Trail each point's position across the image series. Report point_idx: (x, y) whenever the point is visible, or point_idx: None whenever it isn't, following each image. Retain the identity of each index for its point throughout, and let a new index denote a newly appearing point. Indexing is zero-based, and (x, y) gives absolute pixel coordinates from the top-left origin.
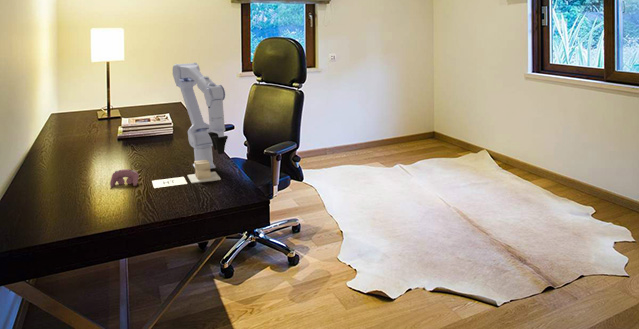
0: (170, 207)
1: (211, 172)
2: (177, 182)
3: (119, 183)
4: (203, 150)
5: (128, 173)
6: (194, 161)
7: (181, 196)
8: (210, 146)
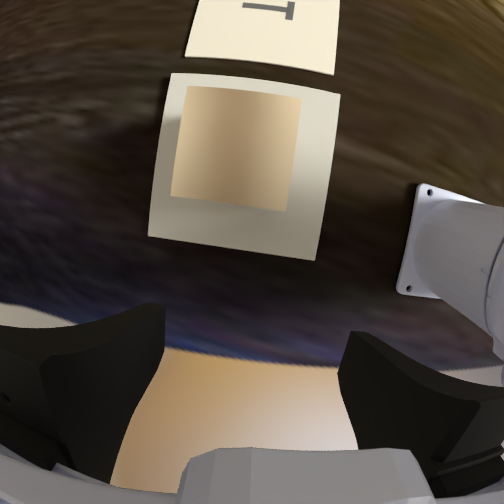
0: (4, 16)
1: (306, 233)
2: (239, 21)
3: None
4: (482, 261)
5: None
6: (290, 97)
7: (51, 32)
8: (490, 331)
